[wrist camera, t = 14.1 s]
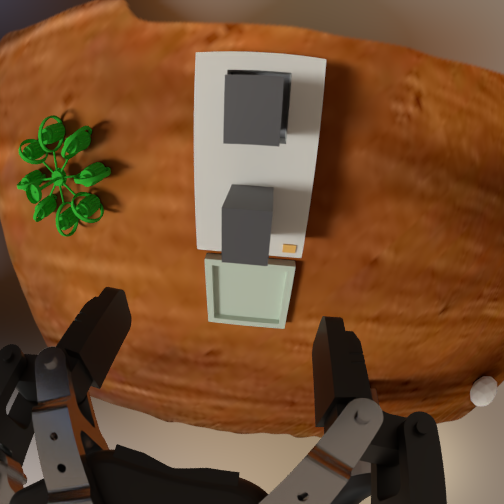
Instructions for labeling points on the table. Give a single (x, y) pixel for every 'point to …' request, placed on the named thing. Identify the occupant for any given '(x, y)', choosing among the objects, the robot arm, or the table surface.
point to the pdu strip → (255, 160)
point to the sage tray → (248, 292)
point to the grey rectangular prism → (252, 109)
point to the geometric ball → (483, 391)
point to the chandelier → (61, 176)
